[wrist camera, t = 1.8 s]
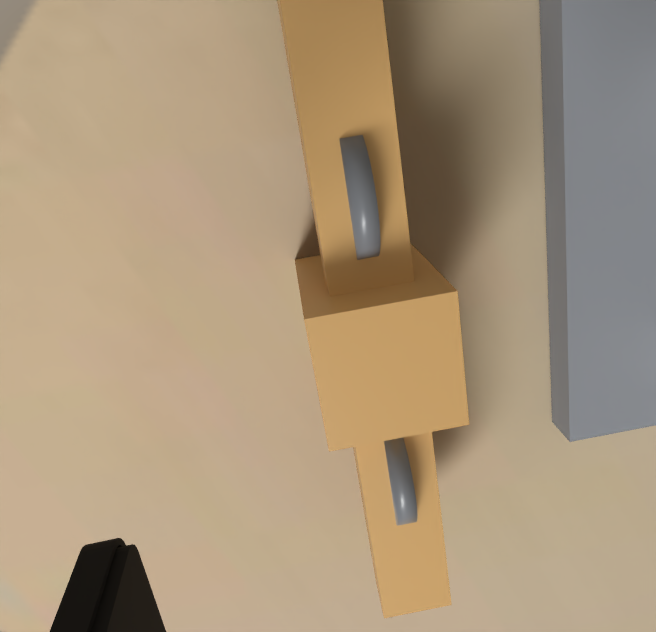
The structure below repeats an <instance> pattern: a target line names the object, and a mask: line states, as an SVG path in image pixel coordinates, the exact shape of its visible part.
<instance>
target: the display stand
mask: <svg viewBox="0 0 656 632" xmlns="http://www.w3.org/2000/svg"><path fill="white" fill-rule="evenodd" d="M540 34H541V67H542V100H543V133H544V166H545V199H546V233H547V266H548V299H549V332H550V365H551V398H552V422H553V423H554V424H555V425H556V427H557V428H558V429H559V430H560V431H561V432H562V433H563V435H564V436H565V437H566V438H567V439H568V440H569V441H570V442H571V441H576V440H582V439H587V438H592V437H597V436H602V435H608V434H613V433H618V432H623V431H628V430H634V429H639V428H644V427H649V426H654V425H656V0H540Z"/></svg>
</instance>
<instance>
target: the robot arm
mask: <svg viewBox="0 0 656 632" xmlns="http://www.w3.org/2000/svg"><path fill="white" fill-rule="evenodd" d="M50 632H166V630H165V627H164V624H163V621H162V619H161V616H160V613H159V610H158V607H157V604H156V601H155V598H154V595H153V592H152V590H151V587H150V584H149V581H148V578H147V575H146V572H145V569H144V566H143V564H142V561H141V558H140V555H139V552H138V550H137V547H136V546H135V545H133V544H132V545H128V546H126V545H125V543H124V541H123V540H122V539H121V538H116V539H112V540H107V541H102V542H97V543H93V544H88V545H85V546H84V547H83V548H82V549H81V551H80V554H79V556H78V559H77V562H76V564H75V567H74V569H73V572H72V575H71V577H70V580H69V582H68V585H67V588H66V590H65V593H64V596H63V598H62V601H61V603H60V606H59V609H58V611H57V614H56V617H55V619H54V622H53V624H52V627H51V630H50Z"/></svg>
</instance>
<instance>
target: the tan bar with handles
mask: <svg viewBox="0 0 656 632" xmlns="http://www.w3.org/2000/svg"><path fill="white" fill-rule="evenodd" d="M277 2H278V8H279V14H280V20H281V26H282V32H283V37H284V43H285V49H286V55H287V61H288V67H289V73H290V79H291V84H292V90H293V96H294V102H295V108H296V114H297V120H298V126H299V131H300V137H301V143H302V149H303V155H304V161H305V167H306V173H307V178H308V184H309V190H310V196H311V202H312V208H313V214H314V220H315V225H316V231H317V237H318V243H319V249H320V255H318V256H312V257H307V258H301V259H296V260H295V265H296V271H297V277H298V283H299V290H300V296H301V302H302V308H303V315H304V321H305V326H306V331H307V337H308V342H309V347H310V353H311V358H312V363H313V369H314V374H315V379H316V385H317V390H318V395H319V401H320V406H321V411H322V417H323V422H324V427H325V432H326V438H327V443H328V448H329V451H334V450H340V449H345V448H350V447H353V449H354V455H355V460H356V466H357V472H358V478H359V484H360V490H361V496H362V502H363V507H364V513H365V519H366V525H367V531H368V537H369V543H370V549H371V554H372V560H373V566H374V572H375V578H376V584H377V588H378V593H379V597H380V602H381V606H382V611H383V615H384V618H388V617H393V616H398V615H403V614H408V613H413V612H418V611H423V610H428V609H433V608H438V607H443V606H448V605H451V596H450V587H449V579H448V570H447V561H446V552H445V544H444V535H443V526H442V517H441V508H440V500H439V491H438V482H437V473H436V465H435V456H434V447H433V438H432V432H434V431H439V430H444V429H449V428H455V427H460V426H465V425H469V416H468V405H467V393H466V382H465V370H464V359H463V348H462V336H461V325H460V313H459V302H458V291H457V290H456V289H455V288H454V287H453V286H452V285H451V284H450V283H449V282H448V281H447V280H446V279H445V278H444V277H443V276H442V275H441V274H440V273H439V272H438V271H437V270H436V269H435V268H434V267H433V265H432V264H431V263H430V262H429V261H428V260H427V259H426V258H425V257H424V256H423V255H422V254H421V253H420V252H419V251H418V250H417V249H416V248H415V247H414V246H413V245H412V244H411V243H410V236H409V227H408V219H407V210H406V201H405V192H404V183H403V175H402V166H401V157H400V148H399V140H398V131H397V122H396V113H395V104H394V96H393V87H392V78H391V69H390V61H389V52H388V43H387V34H386V25H385V17H384V8H383V0H277Z"/></svg>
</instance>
